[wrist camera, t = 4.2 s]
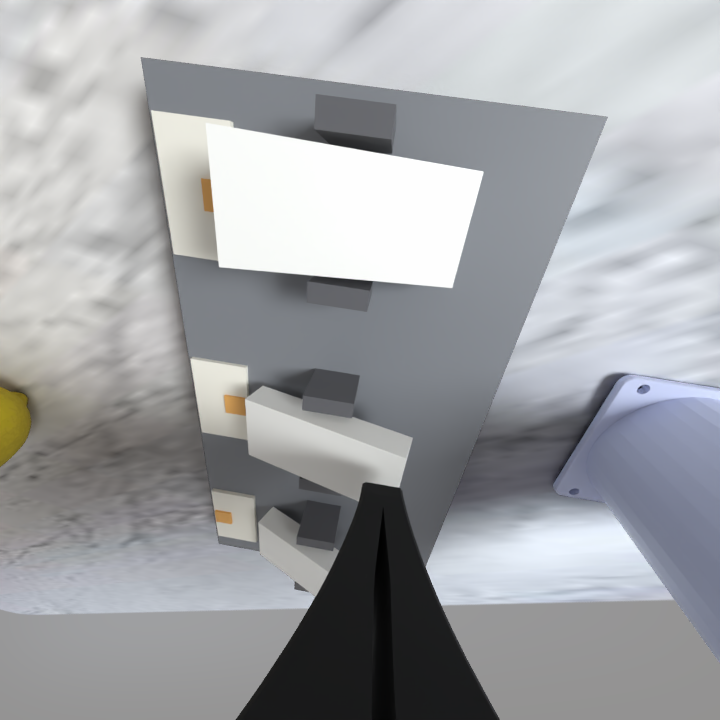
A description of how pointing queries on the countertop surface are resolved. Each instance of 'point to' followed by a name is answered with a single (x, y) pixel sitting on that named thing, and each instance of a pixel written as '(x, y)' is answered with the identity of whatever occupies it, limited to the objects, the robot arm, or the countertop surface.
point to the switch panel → (358, 286)
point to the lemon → (13, 423)
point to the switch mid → (323, 444)
